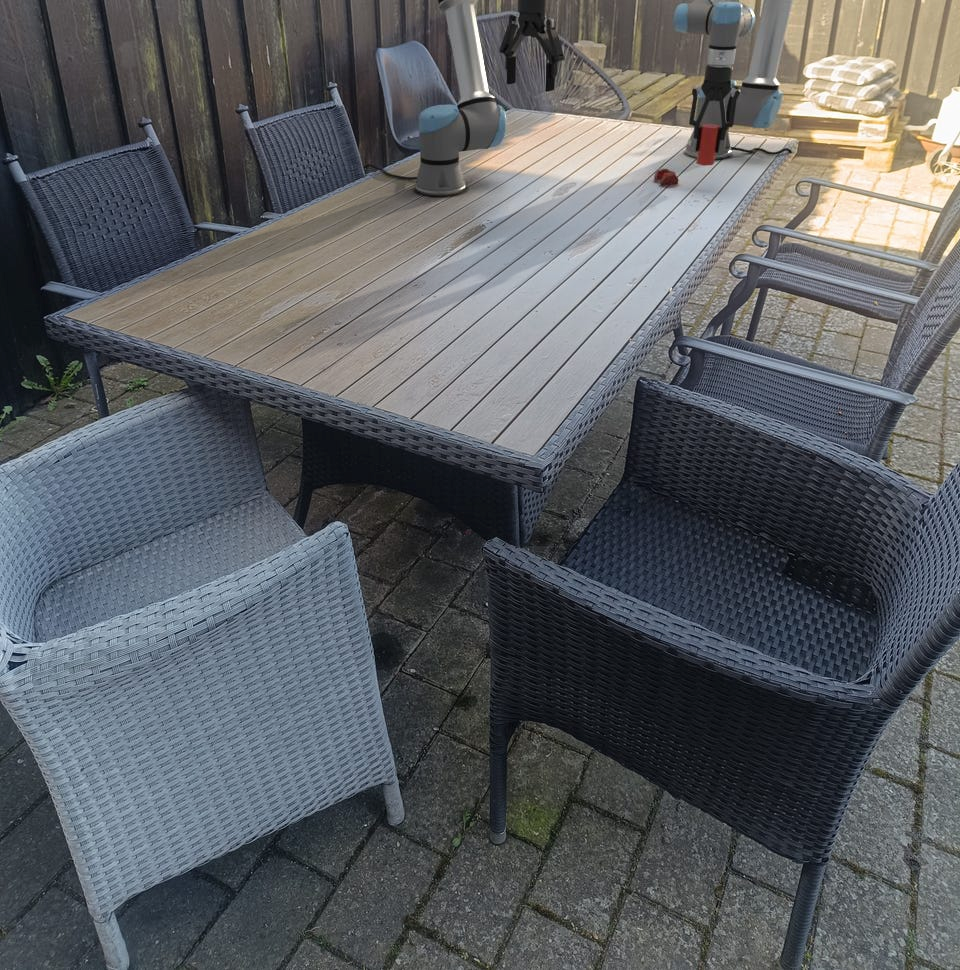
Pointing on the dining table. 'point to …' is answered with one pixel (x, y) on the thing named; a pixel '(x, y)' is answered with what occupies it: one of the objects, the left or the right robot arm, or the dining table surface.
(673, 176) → the red lumpy piece
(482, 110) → the left robot arm
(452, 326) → the dining table surface
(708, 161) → the canister
